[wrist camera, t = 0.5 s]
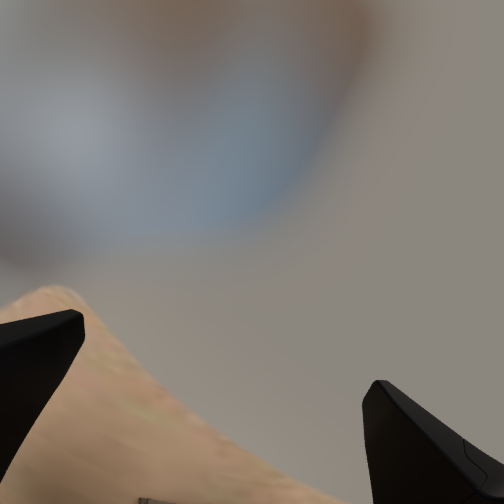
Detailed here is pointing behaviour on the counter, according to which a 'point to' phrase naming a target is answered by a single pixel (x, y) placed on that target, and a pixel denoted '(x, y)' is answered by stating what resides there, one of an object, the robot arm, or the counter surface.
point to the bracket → (151, 501)
